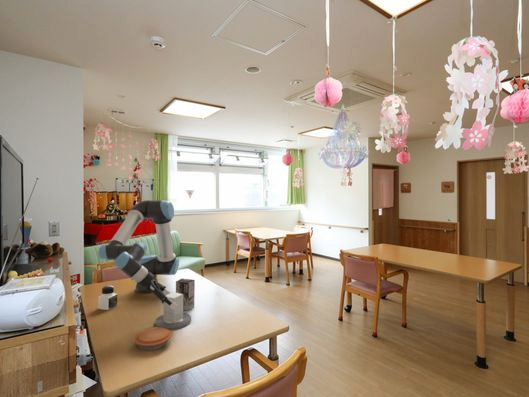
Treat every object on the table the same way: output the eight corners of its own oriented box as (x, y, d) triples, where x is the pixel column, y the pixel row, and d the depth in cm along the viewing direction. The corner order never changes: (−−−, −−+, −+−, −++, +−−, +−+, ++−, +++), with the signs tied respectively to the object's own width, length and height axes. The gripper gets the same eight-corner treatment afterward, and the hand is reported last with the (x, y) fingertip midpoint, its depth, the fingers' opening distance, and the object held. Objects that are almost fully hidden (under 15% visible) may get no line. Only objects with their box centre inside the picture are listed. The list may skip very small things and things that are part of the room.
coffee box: (194, 306, 168) (195, 279, 168) (188, 311, 162) (188, 282, 162) (181, 304, 171) (182, 278, 171) (175, 308, 165) (175, 281, 165)
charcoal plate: (167, 312, 159) (167, 310, 159) (197, 316, 156) (197, 314, 155) (147, 327, 142) (147, 324, 142) (180, 331, 138) (180, 329, 138)
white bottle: (108, 310, 161) (108, 289, 161) (97, 309, 163) (98, 288, 162) (117, 305, 168) (117, 285, 168) (107, 304, 170) (107, 284, 169)
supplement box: (183, 317, 151) (183, 293, 150) (173, 323, 144) (174, 298, 144) (172, 314, 154) (173, 291, 154) (162, 320, 147) (162, 295, 147)
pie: (128, 354, 118) (128, 342, 118) (142, 335, 134) (142, 325, 134) (165, 353, 119) (166, 341, 119) (175, 335, 135) (175, 324, 135)
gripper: (137, 275, 152) (166, 300, 159) (136, 290, 130) (171, 318, 136) (148, 265, 154) (176, 289, 161) (149, 278, 132) (182, 305, 138)
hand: (174, 302), depth 148 cm, fingers open, 13 cm apart
